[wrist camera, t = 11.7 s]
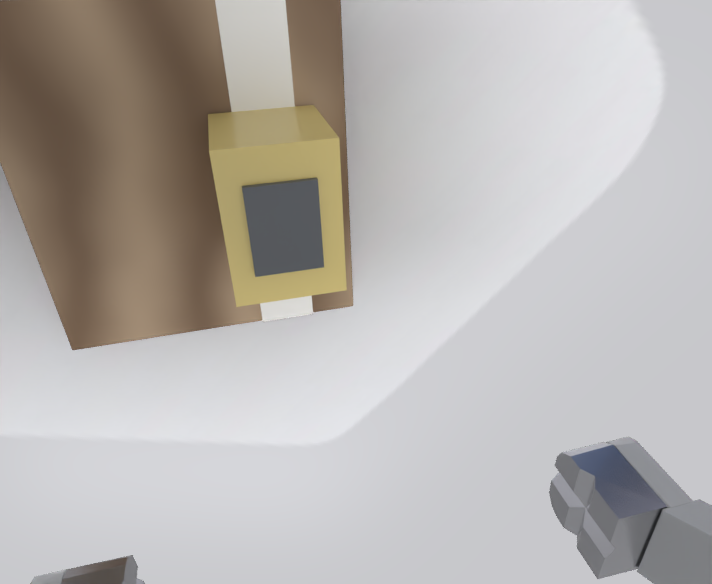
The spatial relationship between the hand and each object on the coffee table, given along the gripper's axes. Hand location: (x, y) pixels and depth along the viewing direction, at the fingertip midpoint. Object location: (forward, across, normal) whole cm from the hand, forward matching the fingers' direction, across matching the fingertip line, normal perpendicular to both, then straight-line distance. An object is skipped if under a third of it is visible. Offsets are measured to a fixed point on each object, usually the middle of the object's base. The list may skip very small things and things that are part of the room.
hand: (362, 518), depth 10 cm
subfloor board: (+22, +3, 0) cm, 23 cm away
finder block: (+20, -1, 0) cm, 21 cm away
